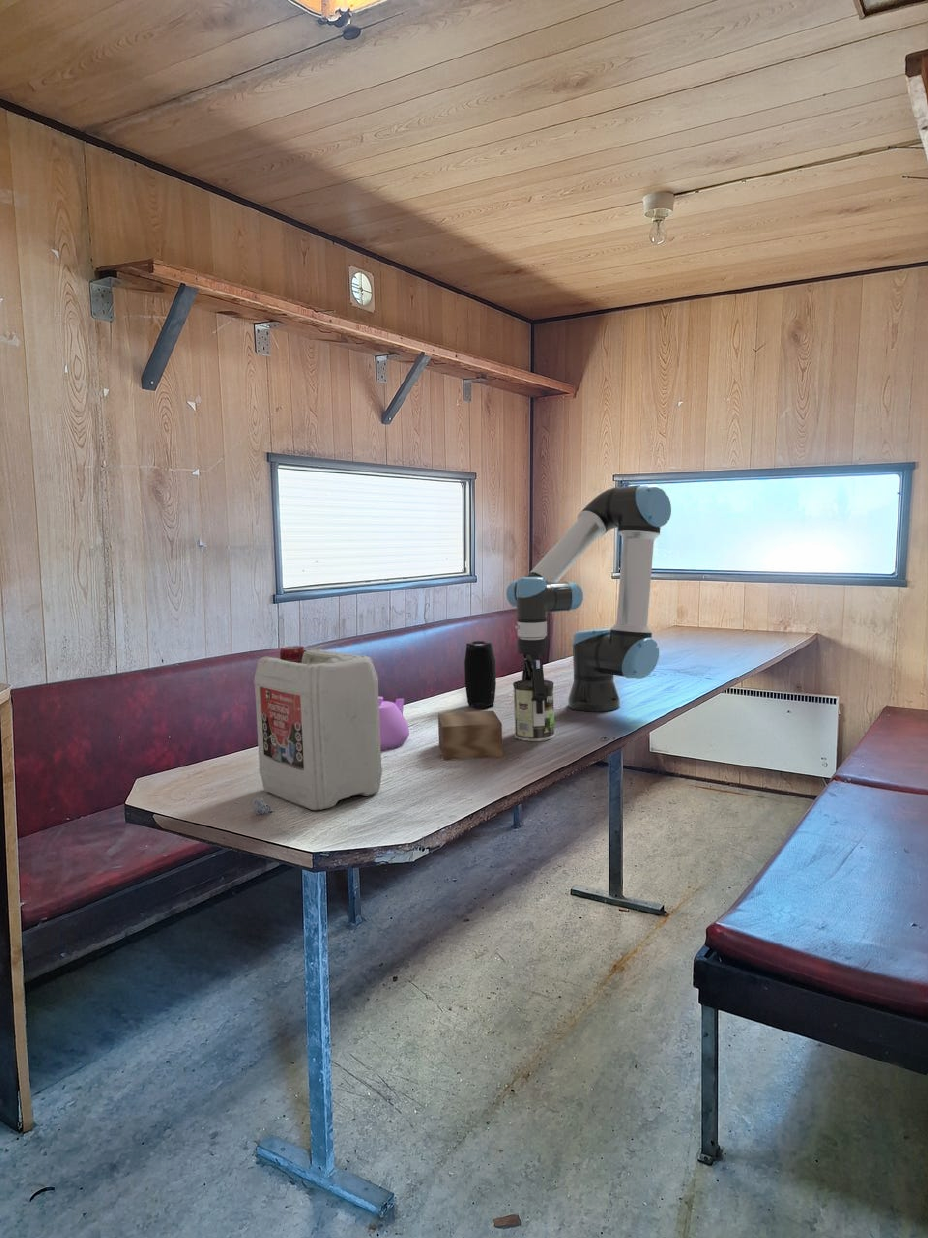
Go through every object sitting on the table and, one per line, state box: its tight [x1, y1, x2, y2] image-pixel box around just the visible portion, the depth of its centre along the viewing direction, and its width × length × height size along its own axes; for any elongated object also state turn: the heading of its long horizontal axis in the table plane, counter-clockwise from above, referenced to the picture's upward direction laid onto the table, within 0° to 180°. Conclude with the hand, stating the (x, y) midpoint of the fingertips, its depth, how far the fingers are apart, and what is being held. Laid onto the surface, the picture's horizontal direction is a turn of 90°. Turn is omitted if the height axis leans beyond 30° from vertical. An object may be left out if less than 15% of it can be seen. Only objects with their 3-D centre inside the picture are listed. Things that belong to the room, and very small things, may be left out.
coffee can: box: [512, 679, 555, 742], centre depth 207 cm, size 10×10×14 cm
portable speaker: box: [463, 640, 497, 710], centre depth 243 cm, size 9×9×20 cm
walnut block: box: [437, 710, 504, 761], centre depth 195 cm, size 14×14×8 cm
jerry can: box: [253, 645, 383, 811], centre depth 166 cm, size 24×19×30 cm
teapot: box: [378, 695, 410, 751], centre depth 205 cm, size 22×16×12 cm
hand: (533, 719), depth 207 cm, fingers open, 13 cm apart
